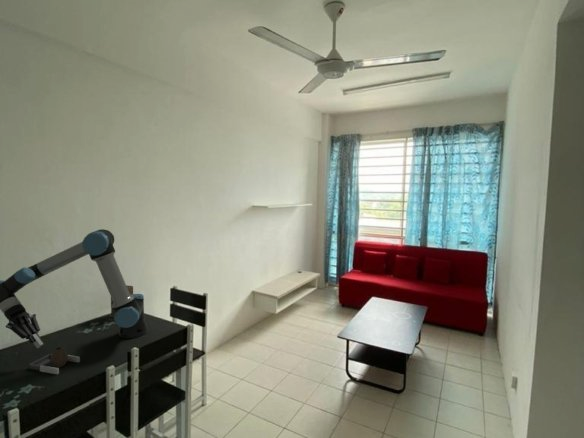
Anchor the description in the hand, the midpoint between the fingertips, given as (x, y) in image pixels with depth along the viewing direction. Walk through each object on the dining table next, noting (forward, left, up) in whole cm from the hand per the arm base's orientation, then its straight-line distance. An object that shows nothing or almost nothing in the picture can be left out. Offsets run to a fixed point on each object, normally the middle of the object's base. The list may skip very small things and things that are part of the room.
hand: (40, 346), depth 152 cm
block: (-14, -60, -9) cm, 62 cm away
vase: (-10, +3, -9) cm, 14 cm away
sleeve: (-11, +3, -9) cm, 14 cm away
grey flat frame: (-2, 0, -9) cm, 9 cm away
